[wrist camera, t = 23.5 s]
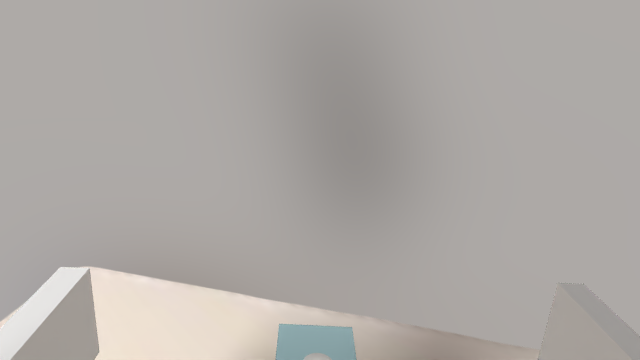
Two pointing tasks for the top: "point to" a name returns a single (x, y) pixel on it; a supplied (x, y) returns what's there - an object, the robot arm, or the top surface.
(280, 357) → the block
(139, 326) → the top surface
